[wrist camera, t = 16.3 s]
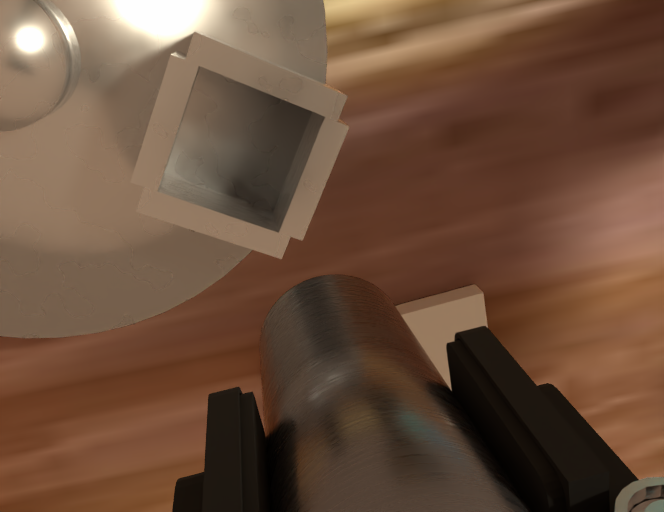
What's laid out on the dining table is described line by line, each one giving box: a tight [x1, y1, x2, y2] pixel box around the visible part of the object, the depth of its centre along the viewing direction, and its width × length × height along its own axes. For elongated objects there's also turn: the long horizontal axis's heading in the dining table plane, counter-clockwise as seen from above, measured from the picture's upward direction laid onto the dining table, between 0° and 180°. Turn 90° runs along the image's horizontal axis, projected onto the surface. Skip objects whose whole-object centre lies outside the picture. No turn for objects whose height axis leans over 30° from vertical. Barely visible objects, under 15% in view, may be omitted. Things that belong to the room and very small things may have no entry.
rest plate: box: [395, 284, 488, 391], centre depth 36 cm, size 12×12×1 cm
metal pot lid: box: [0, 0, 349, 338], centre depth 22 cm, size 24×24×5 cm
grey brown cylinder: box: [259, 275, 532, 512], centre depth 10 cm, size 4×4×10 cm
